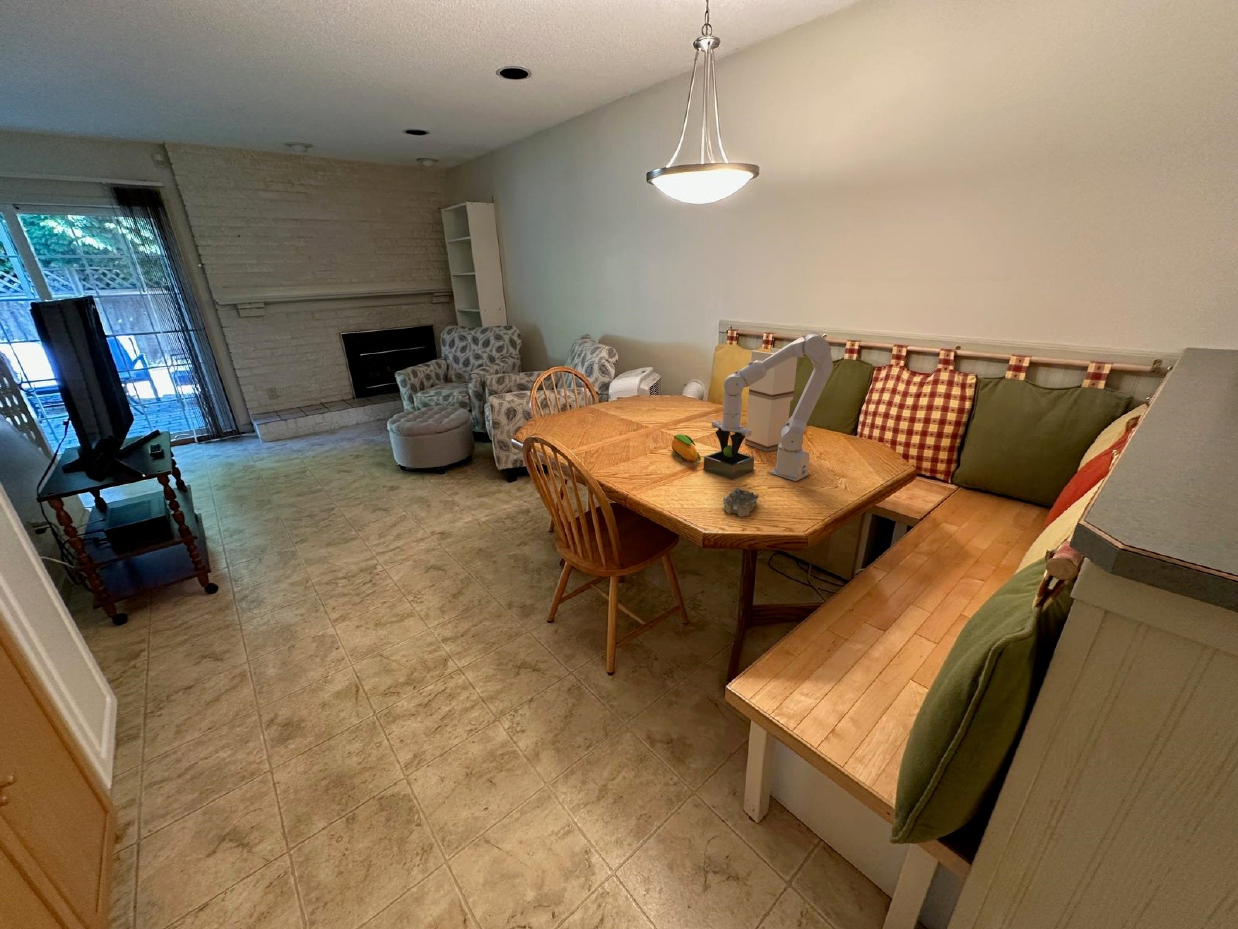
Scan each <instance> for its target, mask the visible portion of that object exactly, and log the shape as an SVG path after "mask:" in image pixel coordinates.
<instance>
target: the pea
mask: <svg viewBox="0 0 1238 929" xmlns="http://www.w3.org/2000/svg"><path fill="white" fill-rule="evenodd" d="M723 453H724V455H725V456H727V457H732V456H734V455H732V444H728V445H727V446H725V448H724V450H723Z"/></svg>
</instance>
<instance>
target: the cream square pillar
mask: <svg viewBox="0 0 1238 929" xmlns="http://www.w3.org/2000/svg"><path fill="white" fill-rule="evenodd" d="M781 349H782V348H775V347H772V348H771V352H765V351H758V350H751V357H750V359H751V360H750V361H753V362H754V361H756V360H758V361H764V360H765V359H767V358H768V357H770V356H771V355H773V354H774V353H776V352H778V351H779V350H781ZM798 359H799V357H791V358H790V359H788V360H786V361H784V362H782V363H780V364H778V365H777V366H775V367H773V368H771V369H769V370H768V371H767V374H766V376H765V377H764V378H762V379H760V380H759V381H757V382H755V383H753V384H752V385H750V386H748V398H747V413H746V426H745V428H747V429H750V430H752V433H751V436H749V437H745V438H744V444H746V445H748V446H750V447H753V448H756V449H758V450H761V451H764V452H766V453H768V452H772V451H776V450H778V445H779V444H780V443H781V437H780V430H781V428H782V427H783V426H784V425H785V424H786V423H787V422H788V420H789V418H790V409H791V401H794V395H795V394H794V392H795V384H796V375H797V366H798Z"/></svg>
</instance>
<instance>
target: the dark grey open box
mask: <svg viewBox="0 0 1238 929" xmlns="http://www.w3.org/2000/svg"><path fill="white" fill-rule="evenodd" d="M754 467H755V456H753V455H749V454H746V453H743V452H739V451H738V454H736V455H734V456H732V457H727V456H725V455H724V453H723V452H722V451H721V450H718V451H716V452H713V453H710V454H707V455H704V456H703V470H705V471H708V472H710V473H712V474H716V475H718V476H721V477H724V478H727V479H729V480H733V479H735V478H738V477H740V476H742V475H743V476H744V475H746V474H747V473H749V472H752V471H754Z"/></svg>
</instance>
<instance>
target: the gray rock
mask: <svg viewBox="0 0 1238 929" xmlns="http://www.w3.org/2000/svg"><path fill="white" fill-rule="evenodd" d="M759 497H760V495H759V494H754V492H753V491H749V490H745V489H742V488H739V487H738V486H737V487H735V488H734V490H733V491H731V492H730V493H728V495H727V496H725V497H723V499H722V503H723V505H724V507H723V510H724V511H725V512H726V513H727V514H736V515H738V517H747V516H748V517H749V514H750V512H752V511H753V509H754V507H757V506H758V499H760V498H759Z"/></svg>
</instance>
